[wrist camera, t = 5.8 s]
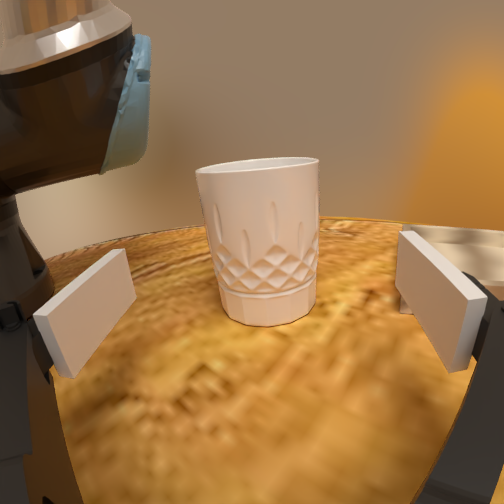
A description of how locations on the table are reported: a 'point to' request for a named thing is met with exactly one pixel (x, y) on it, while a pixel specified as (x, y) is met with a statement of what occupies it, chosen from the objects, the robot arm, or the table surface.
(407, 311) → the birch tray
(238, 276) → the white cup
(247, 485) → the table surface
